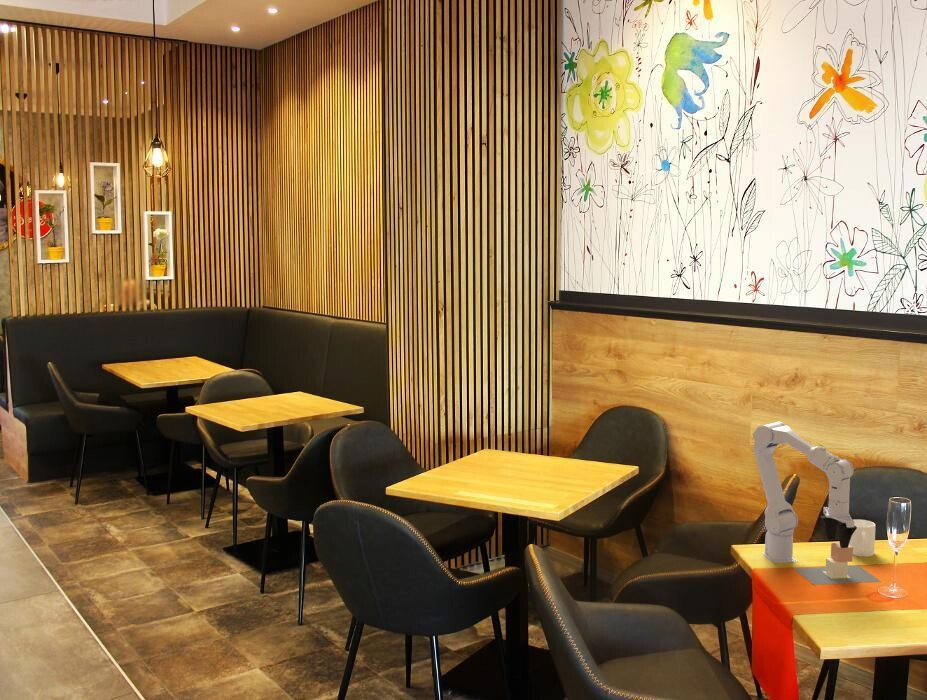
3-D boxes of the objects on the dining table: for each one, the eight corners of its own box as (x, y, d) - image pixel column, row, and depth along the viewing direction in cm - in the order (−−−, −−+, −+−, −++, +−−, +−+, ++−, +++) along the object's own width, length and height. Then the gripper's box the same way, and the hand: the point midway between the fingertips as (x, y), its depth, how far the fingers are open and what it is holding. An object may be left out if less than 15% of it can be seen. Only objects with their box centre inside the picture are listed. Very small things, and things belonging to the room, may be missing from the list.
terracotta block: (830, 557, 285) (831, 543, 284) (844, 556, 285) (845, 542, 285) (838, 562, 280) (838, 548, 280) (852, 561, 281) (852, 547, 280)
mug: (878, 563, 294) (879, 531, 293) (850, 561, 296) (851, 529, 295) (872, 550, 305) (873, 520, 304) (845, 548, 307) (846, 518, 306)
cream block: (825, 572, 285) (826, 558, 284) (839, 571, 285) (839, 557, 285) (833, 577, 280) (833, 563, 280) (847, 576, 281) (847, 562, 280)
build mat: (793, 569, 289) (793, 567, 289) (858, 566, 291) (858, 564, 291) (813, 586, 275) (813, 584, 275) (881, 583, 277) (881, 581, 277)
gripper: (814, 494, 287) (813, 536, 288) (838, 507, 272) (837, 552, 274) (836, 492, 288) (834, 535, 289) (861, 506, 273) (859, 550, 275)
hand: (837, 543), depth 282 cm, fingers open, 7 cm apart
